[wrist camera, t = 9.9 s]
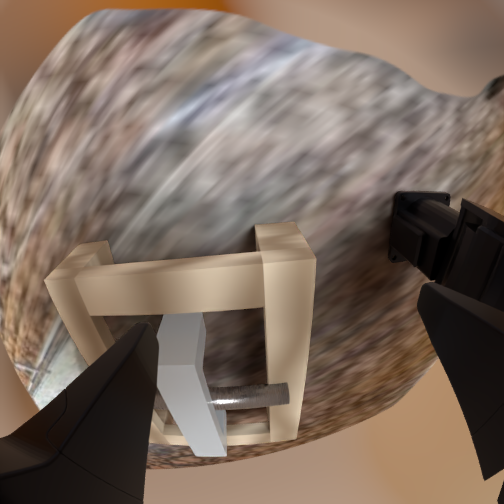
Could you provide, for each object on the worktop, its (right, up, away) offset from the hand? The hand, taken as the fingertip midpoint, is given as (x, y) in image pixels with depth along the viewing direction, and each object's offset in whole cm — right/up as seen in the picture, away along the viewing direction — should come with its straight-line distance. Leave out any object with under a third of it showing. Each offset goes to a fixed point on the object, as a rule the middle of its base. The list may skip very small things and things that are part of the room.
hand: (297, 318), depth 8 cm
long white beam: (-6, -9, +14) cm, 18 cm away
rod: (-6, -10, +13) cm, 17 cm away
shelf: (-6, -7, +18) cm, 20 cm away
